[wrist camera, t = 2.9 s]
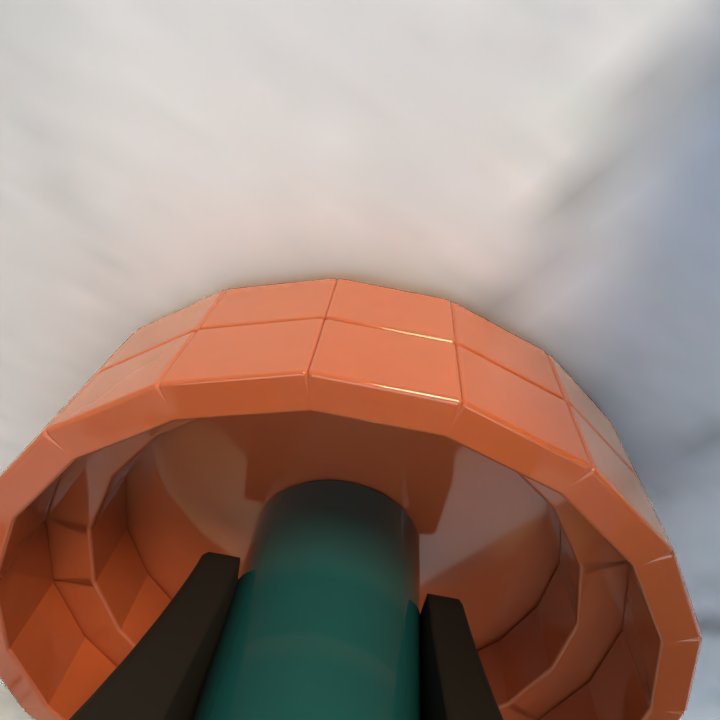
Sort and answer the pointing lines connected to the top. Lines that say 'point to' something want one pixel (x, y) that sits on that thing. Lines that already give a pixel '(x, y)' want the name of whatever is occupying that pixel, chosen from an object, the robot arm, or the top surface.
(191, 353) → the bowl
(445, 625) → the robot arm
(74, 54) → the top surface
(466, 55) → the top surface
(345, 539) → the salt shaker
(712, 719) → the top surface
